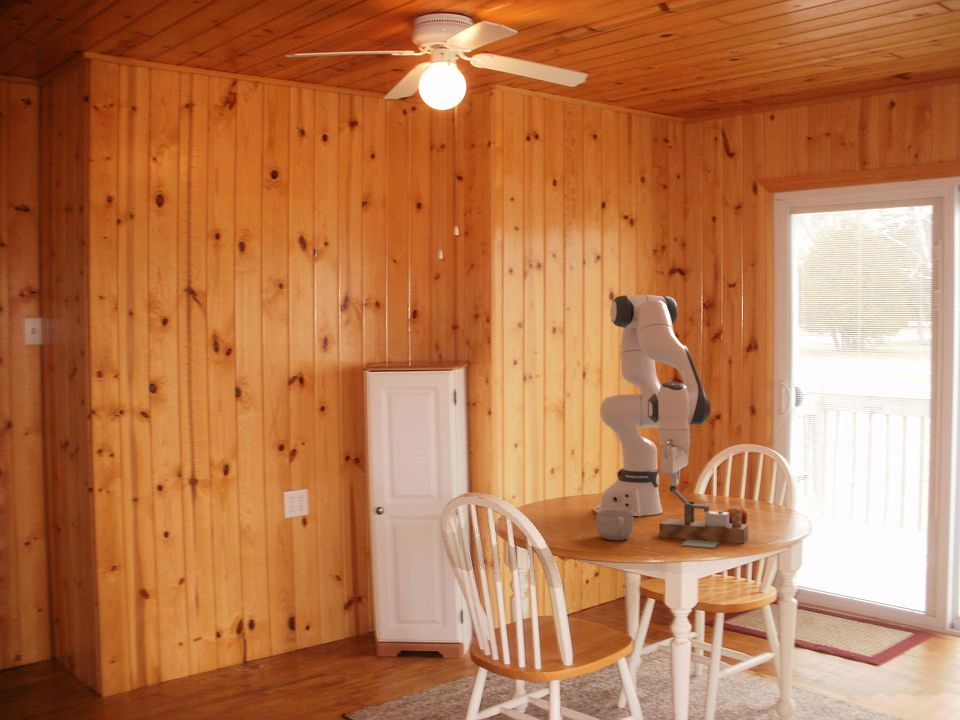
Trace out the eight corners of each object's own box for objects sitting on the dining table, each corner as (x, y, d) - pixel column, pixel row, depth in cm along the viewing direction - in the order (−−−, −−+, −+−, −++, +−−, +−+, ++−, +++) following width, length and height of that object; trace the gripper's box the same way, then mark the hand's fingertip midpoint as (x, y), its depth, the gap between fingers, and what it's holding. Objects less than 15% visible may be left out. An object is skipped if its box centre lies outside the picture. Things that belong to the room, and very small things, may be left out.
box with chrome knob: (705, 525, 272) (705, 512, 272) (708, 522, 276) (708, 509, 276) (726, 527, 270) (726, 513, 270) (729, 524, 274) (729, 510, 274)
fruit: (737, 529, 279) (727, 503, 282) (721, 538, 285) (711, 513, 289) (757, 526, 283) (747, 501, 286) (741, 535, 289) (732, 511, 292)
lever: (668, 509, 277) (667, 485, 277) (671, 507, 280) (670, 484, 280) (707, 512, 272) (707, 488, 272) (710, 510, 276) (710, 486, 275)
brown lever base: (659, 537, 277) (659, 502, 277) (665, 532, 283) (665, 498, 283) (743, 543, 267) (743, 508, 266) (747, 538, 273) (747, 503, 273)
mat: (681, 546, 265) (681, 544, 265) (687, 540, 271) (687, 539, 271) (714, 548, 261) (714, 547, 261) (719, 543, 268) (719, 541, 268)
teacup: (596, 534, 282) (595, 507, 282) (633, 534, 281) (632, 507, 281) (597, 545, 268) (596, 516, 268) (636, 545, 267) (635, 517, 267)
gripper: (676, 442, 267) (677, 491, 267) (692, 434, 285) (693, 480, 286) (654, 441, 269) (655, 490, 270) (671, 434, 288) (672, 479, 288)
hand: (674, 485), depth 278 cm, fingers closed, pressing on lever
